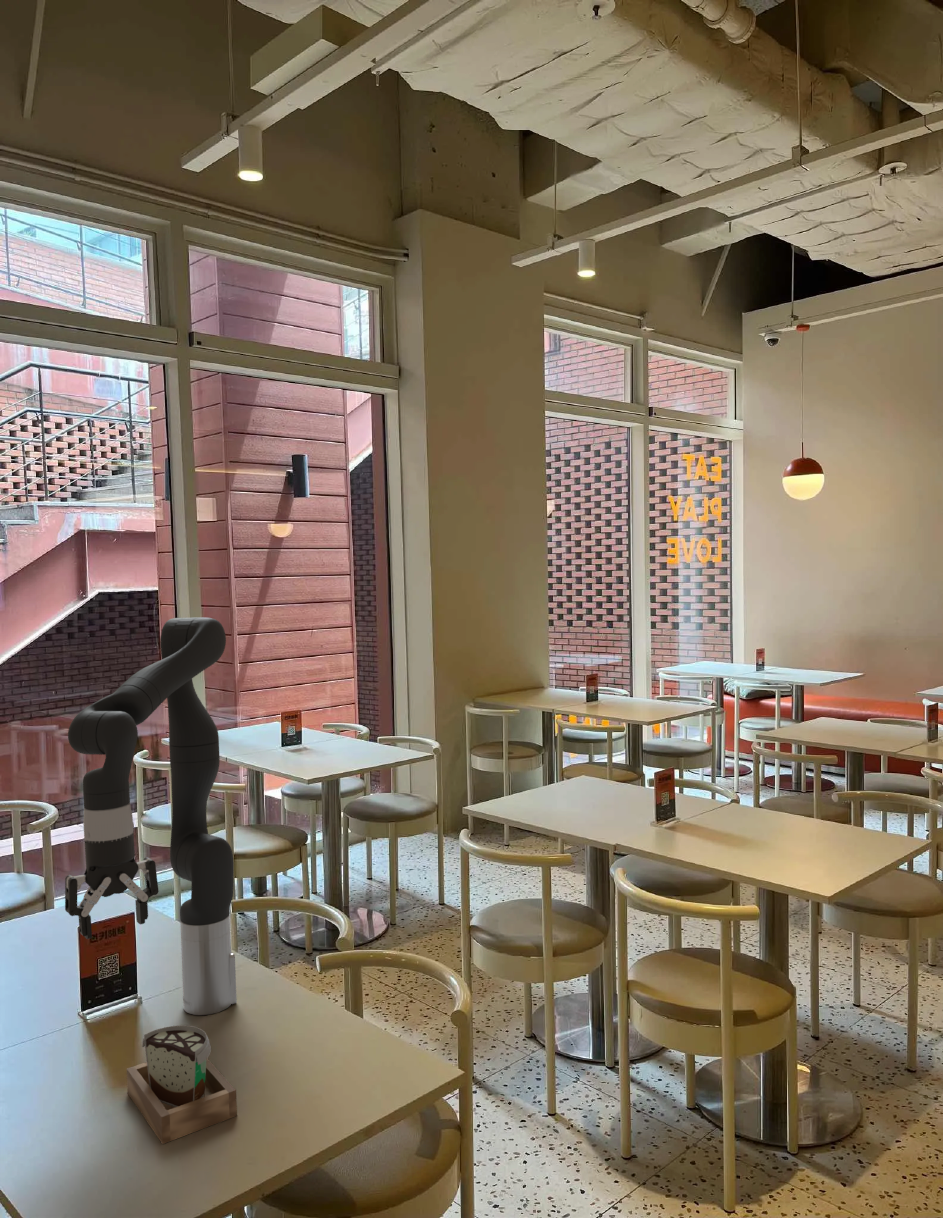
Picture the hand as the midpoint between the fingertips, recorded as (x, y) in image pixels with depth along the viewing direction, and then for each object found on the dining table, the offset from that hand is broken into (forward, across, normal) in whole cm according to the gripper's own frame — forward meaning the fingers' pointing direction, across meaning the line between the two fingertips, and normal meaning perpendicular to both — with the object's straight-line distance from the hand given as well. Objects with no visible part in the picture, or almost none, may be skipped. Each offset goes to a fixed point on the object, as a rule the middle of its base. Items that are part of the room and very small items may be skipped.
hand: (114, 930), depth 152 cm
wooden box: (+25, -4, +14) cm, 29 cm away
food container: (+25, -6, +13) cm, 29 cm away
